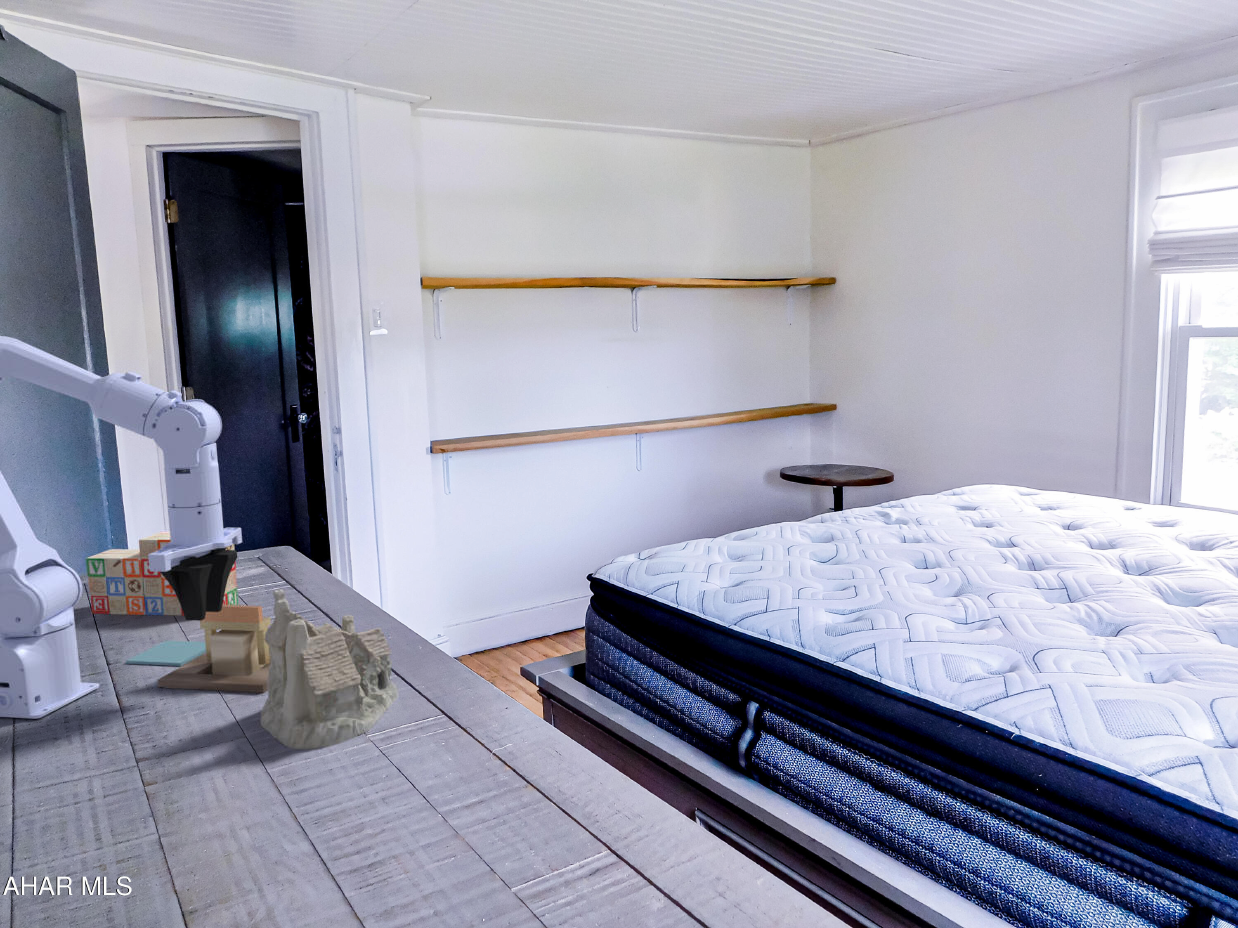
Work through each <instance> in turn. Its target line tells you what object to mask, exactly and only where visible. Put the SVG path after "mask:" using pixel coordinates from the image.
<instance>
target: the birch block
mask: <svg viewBox="0 0 1238 928" xmlns="http://www.w3.org/2000/svg"><path fill="white" fill-rule="evenodd" d="M210 647H211V658H212V670H213V671H212V674H213V675H234V676H249V675H251V674H252V673H254V672H256V671H257V670H259V669H260V668H262V667H263V666H265V665H259V663H258V649H257V636H256V631H245V630H218V631H217V633H215V634H213V635H211V636H210Z"/></svg>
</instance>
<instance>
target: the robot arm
mask: <svg viewBox="0 0 1238 928" xmlns="http://www.w3.org/2000/svg"><path fill="white" fill-rule="evenodd" d="M5 378H17V379H19V380H23V381H25V382H27V383H28V382H29V383H31V384H34V385H37V386H40V387H42V388H46V389H48V390H52V391H54V392H57V393H59V394H63V395H66V396H69V397H72V398H75V399H77V400H79V401H83V402H86V403H88V405H89V407H90V409H91V411H92V413H93V415H94V416H95V418H96V419H99V420H101V421H105V422H107V423H110V424H112V425H115V426H117V427H120V428H122V429H125V430H127V431H131V432H132V433H135V434H138V435H141V436H143V437H145V438H148V439H151V440H152V439H153V442H154V443H155V444H156V445H157V446H158V447H159V449H161V450H162V452H163V466H164V467H163V468H164V470H163V471H164V481H165V482H164V483H165V492H166V494H165V495H166V504H167V515H168V526H169V532H170V540H171V542H169V543H168V544H166V545H165V546H163V547H162V548H161V549H159V550H158V551H156V552H154V553H151V554H149V555H148V558H149V569H150V571H160V573H161V574H162V575H163V576H164V577H165V578H166V580H167V581H168V582H169V584H170V585H171V587H172V588H173V590H174V592H175V594H176V596H177V598H178V600H179V603H180V605H181V608H182V610H183V613H184V615H183V616H184V618H185V620H186V621H198V622H200V621H201V620H203V619H205V615H206V612H220V611H221V610H222V605H223V600H224V594H225V589H226V584H227V581H228V577H229V574H230V572H231V569H232V567H233V565H234V563H235V561H236V562H237V559H238V551H237V550H235V549H234V550H226V547H228V546H231V545H232V544H234V545H239V544H241V543H243V536H242V528H241V527H225V528H224V522H223V507H222V495H221V481H220V471H219V470H220V469H219V463H218V452H217V451H218V450H217V443H216V441H217V440H218V439H219V437H220V435H221V433H222V430H223V429H222V428H223V423H222V422H223V421H222V417H221V416H220V414H219V413H218V412H219V411H217V410H216V409H215V408H214V407H213V406H212V405H210V404H209V403H207V402H205V400H203V399H198V398H193V399H187V400H184V401H183V399H182V396H183V395H182V392H180V391H177V390H170V391H169V392H168V391H166V390H164V389H161V388H158V387H156V386H153V385H151V384H149V383H146V382H144V381H142V375H141V374H138V373H136V372H134V371H127V372H125V374H124V373H121V372H113V373H111V374H107V375H106V376H103V377H102V376H101V375H97V374H95V373H94V372H92V371H89V370H86V369H85V368H82V367H80V366H78V365H75V364H73V363H71V362H68V361H66V360H64V359H62V358H59V357H57V356H55V355H53V354H50V353H48V352H46V351H45V350H42V349H39V348H37V347H35V346H33V345H31V344H28V343H26V342H23V341H21V340H20V339H18V338H14V337H9V336H5V335H2V336H1V335H0V383H2V382H3V381H4V380H5ZM82 595H83V583H82V579H81V578H80V575H79V574H78V573H77V572H76V570H75V569H73V568H72V567H70V565H69V566H68V565H67V564H66V563H65V562H64V561H63V560H62V559H61V556H60V555H59V554H58V551H57V550H56V549H55V548H53V547H51V546H49V545H48V544H46V543H44V542H41V541H40V540H39V539H37V537H36V535H35V533H34V531H33V529H32V528H31V526H30V524H29V522H28V520H27V518H26V516H25V514H24V512H23V511H22V509H21V507H20V505H19V504H18V501H17V500H16V497H15V496H14V493H13V492H12V490H11V488H10V486H9V485H8V482H7V481H6V479H5V476H4V475H3V473H2V471H1V470H0V718H17V719H19V718H20V719H34V720H35V719H36V720H37V719H41V718H43V717H45V716H47V715H48V714H50V713H52V712H54V711H56V710H58V709H60V708H62V707H64V706H66V705H68V704H70V703H72V702H74V701H77V699H79V698H81V697H84V696H85V695H87V694H90V693H91V692H93V691H95V690H96V689H99V688H100V683H97V682H96V683H95V682H82V680H81V679H82V678H81V669H80V662H79V652H78V651H79V650H78V641H77V633H76V632H77V631H76V622H75V621H76V620H75V612H74V607H75V606H76V605H77V604H78V602H79V601H80V599H81V598H82Z"/></svg>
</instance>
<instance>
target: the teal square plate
mask: <svg viewBox="0 0 1238 928" xmlns="http://www.w3.org/2000/svg"><path fill="white" fill-rule="evenodd" d="M205 653H206V644H205V641H191V640H190V641H188V640H187V641H185V640H165V641H163V642H160V643H158V644H156V645H155V646H152V647H151V648H149V649H146V650H145V651H143V652H141V653H138V654H136V655H134V656H132V657H131V658H129V659H127V660H125V663H126V664H130V665H131V664H132V665H148V666H149V665H150V664H151V665H153V666H168V667H169V666H171V667H181V666H183V665H185V664H187V663H189V662H190V661H192V660H194V659H196V658H198V657H199V656H201V655H203V654H205ZM151 665H150V666H151Z"/></svg>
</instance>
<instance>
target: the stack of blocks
mask: <svg viewBox="0 0 1238 928" xmlns="http://www.w3.org/2000/svg"><path fill="white" fill-rule="evenodd" d="M169 542H171V540H170V531H159V532H156V533H154V534H151V535H149V536H145V537H142V538H140V539H138V544H139V545H138V549H134V548H133V549H131V548H130V549H126V548H124V549H123V548H122V549H121V548H113V549H112V548H111V549H108V550H105V551H102V552H99V553H97V554H94V555H91V556H88V557H86V558H85V564H86V576H87V577H88V588H89V589H88V590H89V595H90V608H91V614H95V615H97V614H98V615H103V614H104V615H109V614H110V615H130V616H131V615H133V616H135V615H137V616H138V615H140V616H141V615H142V616H146V615H147V616H184V613H183V610H182V608H181V605H180V603H179V600H178V598H177V596H176V594H175V592H174V590H173V588H172V587H171V585H170V584H169V582H168V581H167V580H166V578H165V577H164V576H163V575H162V574H161V573H160V571H150V569H149V558H148V555H149V554H151V553H154V552H156V551H158V550H159V549H161V548H162V547H163V546H165V545H166V544H168V543H169ZM226 550H235V544H232V545H231V546H228V547H226ZM237 582H238V581H237V560H236V561H235V563H234V565H233V567H232V569H231V572H230V574H229V577H228V581H227V584H226V589H225V594H224V600H223V605H239V596H238V595H239V594H238V585H237V584H238V583H237Z"/></svg>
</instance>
